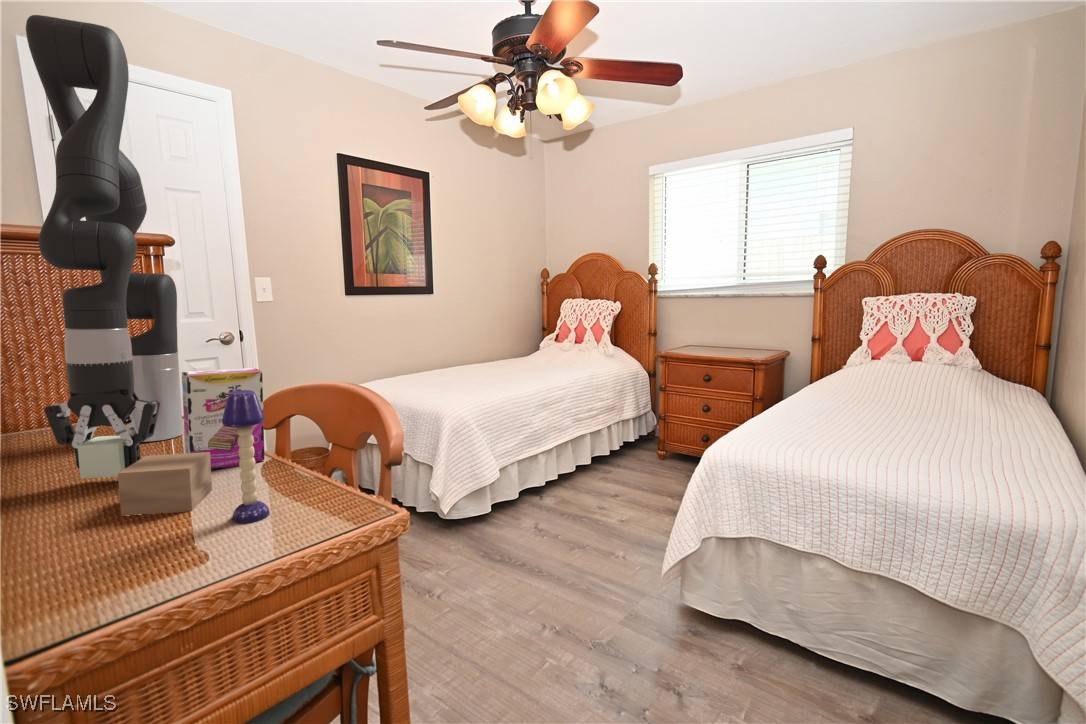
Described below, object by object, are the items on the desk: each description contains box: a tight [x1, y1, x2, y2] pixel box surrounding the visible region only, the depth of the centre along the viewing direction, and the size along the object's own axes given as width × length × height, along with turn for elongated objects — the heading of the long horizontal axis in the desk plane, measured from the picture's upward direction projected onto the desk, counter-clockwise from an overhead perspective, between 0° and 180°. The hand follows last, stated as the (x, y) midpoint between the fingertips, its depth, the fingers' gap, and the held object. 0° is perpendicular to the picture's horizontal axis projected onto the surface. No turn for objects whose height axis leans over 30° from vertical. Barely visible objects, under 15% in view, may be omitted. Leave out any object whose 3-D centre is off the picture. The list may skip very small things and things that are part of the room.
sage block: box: [78, 435, 126, 480], centre depth 78 cm, size 5×5×5 cm
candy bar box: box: [181, 367, 265, 471], centre depth 87 cm, size 11×5×16 cm, turn 135°
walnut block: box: [117, 452, 213, 517], centre depth 71 cm, size 8×8×6 cm
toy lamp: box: [222, 390, 270, 524], centre depth 66 cm, size 5×5×17 cm
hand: (109, 468), depth 78 cm, fingers closed on sage block, 5 cm apart
